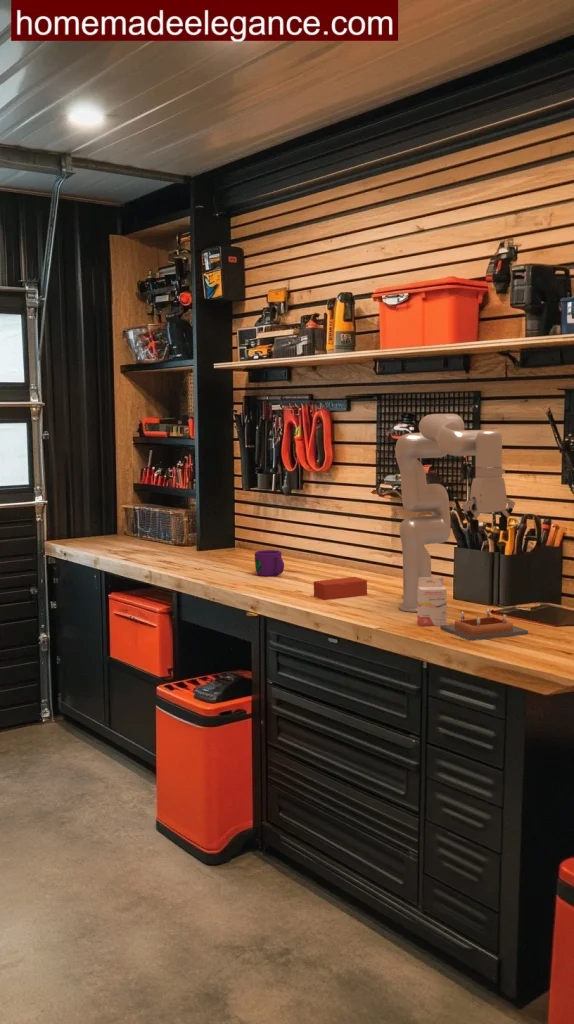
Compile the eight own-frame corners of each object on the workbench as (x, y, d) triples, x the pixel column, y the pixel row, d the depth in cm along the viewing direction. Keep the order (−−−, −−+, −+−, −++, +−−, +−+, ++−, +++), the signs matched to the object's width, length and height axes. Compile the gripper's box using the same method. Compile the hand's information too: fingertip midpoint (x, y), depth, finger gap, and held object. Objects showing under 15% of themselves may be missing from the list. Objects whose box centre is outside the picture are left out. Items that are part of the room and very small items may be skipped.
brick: (355, 592, 345) (355, 576, 344) (367, 596, 337) (367, 580, 336) (313, 597, 337) (313, 581, 337) (324, 601, 329) (324, 584, 329)
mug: (250, 574, 390) (249, 551, 389) (272, 571, 396) (271, 549, 395) (272, 579, 376) (271, 556, 375) (294, 576, 382) (294, 553, 381)
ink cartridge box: (420, 626, 283) (419, 579, 282) (417, 622, 288) (416, 577, 287) (447, 625, 284) (446, 579, 282) (444, 622, 289) (443, 576, 287)
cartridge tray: (440, 628, 279) (440, 611, 279) (496, 622, 286) (496, 605, 285) (469, 640, 263) (469, 622, 263) (528, 633, 270) (528, 615, 269)
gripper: (506, 471, 270) (506, 528, 271) (456, 474, 264) (456, 532, 265) (521, 472, 263) (521, 531, 264) (469, 475, 257) (470, 535, 258)
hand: (488, 531), depth 265 cm, fingers open, 9 cm apart
